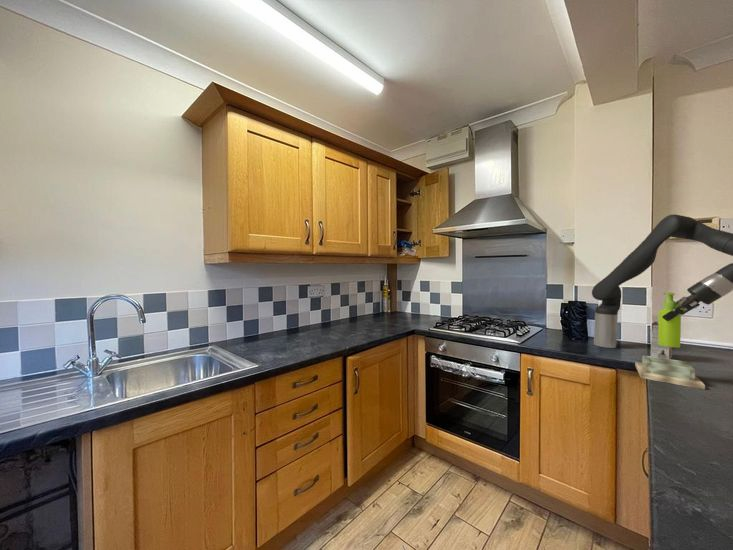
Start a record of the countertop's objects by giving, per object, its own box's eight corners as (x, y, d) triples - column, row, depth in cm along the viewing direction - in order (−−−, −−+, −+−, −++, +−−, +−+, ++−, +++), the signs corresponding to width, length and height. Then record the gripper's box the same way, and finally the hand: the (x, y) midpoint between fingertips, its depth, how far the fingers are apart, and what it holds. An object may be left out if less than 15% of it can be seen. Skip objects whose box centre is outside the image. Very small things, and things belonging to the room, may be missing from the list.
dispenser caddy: (640, 377, 110) (641, 363, 109) (635, 365, 124) (635, 352, 124) (704, 389, 100) (705, 373, 100) (690, 374, 114) (691, 360, 114)
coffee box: (652, 354, 142) (654, 321, 141) (672, 357, 137) (673, 323, 136) (649, 357, 136) (651, 323, 135) (669, 361, 131) (671, 325, 130)
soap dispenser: (675, 344, 113) (676, 292, 113) (683, 348, 107) (684, 293, 107) (654, 342, 116) (655, 291, 116) (660, 346, 110) (662, 292, 110)
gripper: (694, 280, 112) (650, 308, 120) (706, 281, 101) (656, 312, 108) (715, 295, 109) (668, 323, 116) (729, 298, 97) (676, 328, 105)
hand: (663, 317), depth 112 cm, fingers closed on soap dispenser, 6 cm apart
